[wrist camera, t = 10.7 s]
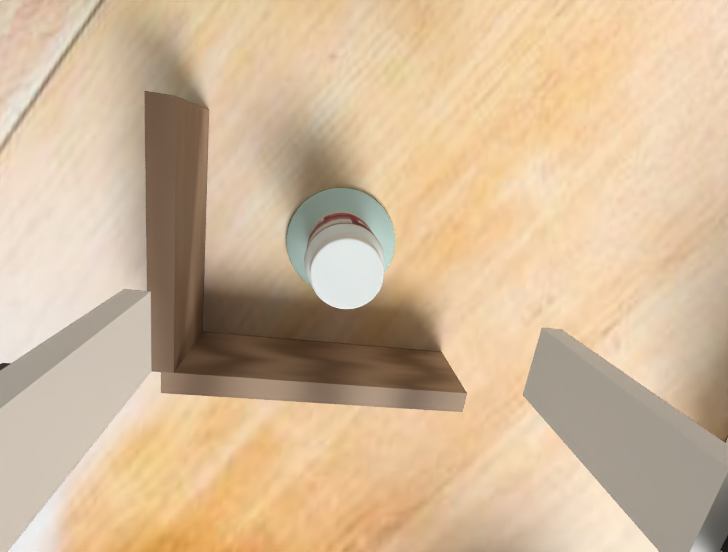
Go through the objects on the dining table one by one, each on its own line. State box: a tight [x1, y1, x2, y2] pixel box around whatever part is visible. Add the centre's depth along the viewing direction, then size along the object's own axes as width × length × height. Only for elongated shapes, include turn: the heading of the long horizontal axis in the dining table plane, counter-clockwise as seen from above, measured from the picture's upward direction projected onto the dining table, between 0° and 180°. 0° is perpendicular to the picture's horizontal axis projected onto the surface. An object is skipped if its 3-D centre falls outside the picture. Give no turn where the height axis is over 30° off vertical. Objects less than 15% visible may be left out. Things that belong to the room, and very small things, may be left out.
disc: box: [287, 188, 395, 286], centre depth 29 cm, size 8×8×1 cm
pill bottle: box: [304, 212, 385, 309], centre depth 25 cm, size 5×5×8 cm
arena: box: [145, 91, 467, 412], centre depth 26 cm, size 21×18×6 cm
